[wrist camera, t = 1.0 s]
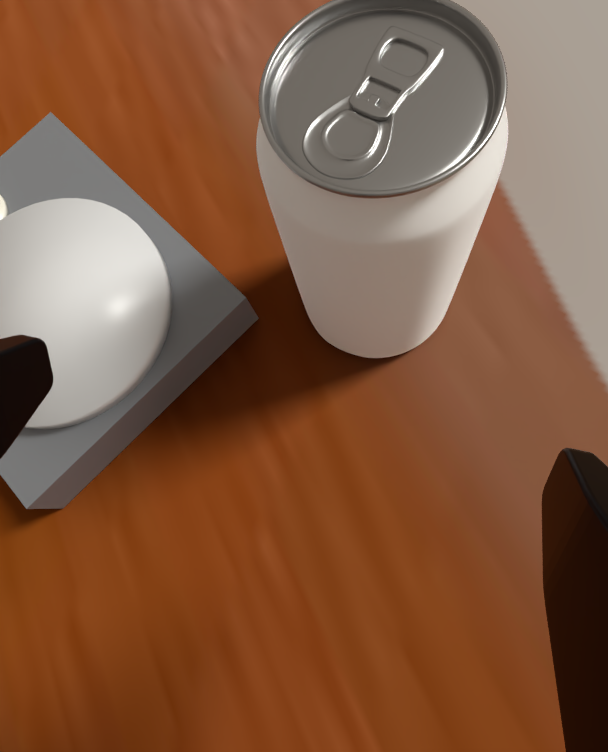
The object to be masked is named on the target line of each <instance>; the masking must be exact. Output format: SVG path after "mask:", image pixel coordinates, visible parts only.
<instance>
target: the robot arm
mask: <svg viewBox="0 0 608 752" xmlns="http://www.w3.org/2000/svg"><path fill="white" fill-rule="evenodd" d="M52 385H53V372H52V368H51V363H50V359H49V354H48V349H47V346H46V344H45V342H44V341H43V340H42V339H40V338H36V337H31V336H27V335H15V336H11V337H6V338H2V339H0V459H1V458H2V457H3V456H4V454H5V453H6V452H7V450H8V449H9V448H10V446H11V445H12V444H13V442H14V441H15V440H16V438H17V437H18V435H19V434H20V432H21V431H22V430H23V428H24V427H25V425H26V424H27V423H28V421H29V420H30V418H31V417H32V415H33V414H34V413H35V411H36V410H37V408H38V407H39V406H40V404H41V403H42V401H43V400H44V398H45V397H46V396H47V394H48V393H49V391H50V390H51V388H52ZM542 547H543V589H544V598H545V607H546V614H547V621H548V628H549V635H550V642H551V649H552V656H553V663H554V670H555V678H556V685H557V692H558V699H559V706H560V713H561V720H562V727H563V734H564V741H565V748H566V752H608V467H607V466H606V465H605V464H604V463H603V462H602V461H601V460H600V459H599V458H598V457H597V456H595V455H594V454H593V453H590V452H586V451H581V450H576V449H571V448H565V449H563V450H562V451H561V452H560V453H559V455H558V457H557V459H556V461H555V464H554V466H553V468H552V470H551V473H550V475H549V477H548V480H547V482H546V484H545V487H544V490H543V495H542Z"/></svg>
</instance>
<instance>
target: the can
mask: <svg viewBox="0 0 608 752" xmlns="http://www.w3.org/2000/svg"><path fill="white" fill-rule="evenodd" d="M506 96H507V72H506V67H505V62H504V59H503V56H502V53H501V51H500V48H499V46H498V44H497V42H496V41H495V39H494V37H493V36H492V34H491V33H490V32H489V30H488V29H487V28H486V27H485V25H483V23H482V22H481V21H480V20H479V19H478V18H476V17H475V16H474V15H473V14H472V13H470V12H469V11H468V10H466V9H465V8H463V7H462V6H460V5H458V4H457V3H455V2H453V1H450V0H333V1H330V2H328V3H326V4H324V5H322V6H320V7H319V8H317V9H315V10H314V11H312V12H311V13H309V14H308V15H306V16H305V17H304V18H302V19H301V20H300V21H299V22H297V23H296V24H295V25H294V26H293V27H292V28H291V29H290V30H289V31H288V32H287V33H286V34H285V35H284V37H283V38H282V39H281V40H280V42H279V43H278V44H277V46H276V47H275V49H274V50H273V52H272V54H271V56H270V58H269V59H268V62H267V64H266V66H265V69H264V72H263V75H262V79H261V83H260V89H259V113H260V120H259V124H258V131H257V141H256V149H257V159H258V165H259V171H260V175H261V178H262V182H263V185H264V189H265V192H266V195H267V198H268V201H269V204H270V207H271V211H272V214H273V217H274V219H275V222H276V225H277V228H278V231H279V234H280V237H281V240H282V243H283V246H284V249H285V252H286V255H287V258H288V261H289V264H290V267H291V270H292V272H293V275H294V278H295V281H296V284H297V287H298V290H299V292H300V295H301V298H302V301H303V304H304V306H305V309H306V312H307V314H308V316H309V318H310V320H311V322H312V324H313V326H314V327H315V329H316V330H317V332H318V333H319V334H320V335H321V336H322V337H323V338H324V339H325V340H326V341H327V342H328V343H330V344H331V345H333V346H335V347H336V348H338V349H340V350H343V351H345V352H347V353H350V354H353V355H357V356H361V357H366V358H385V357H391V356H396V355H399V354H402V353H405V352H407V351H409V350H411V349H413V348H415V347H417V346H418V345H420V344H421V343H422V342H424V341H425V340H426V339H427V338H428V337H429V336H430V335H431V334H432V333H433V332H434V331H435V330H436V329H437V327H438V326H439V324H440V323H441V321H442V319H443V318H444V316H445V313H446V311H447V309H448V307H449V304H450V302H451V300H452V297H453V295H454V292H455V290H456V287H457V285H458V282H459V280H460V277H461V274H462V272H463V269H464V267H465V264H466V262H467V259H468V257H469V254H470V252H471V249H472V246H473V244H474V241H475V239H476V236H477V234H478V231H479V228H480V226H481V223H482V221H483V218H484V215H485V213H486V210H487V208H488V205H489V202H490V200H491V197H492V194H493V192H494V189H495V186H496V184H497V181H498V178H499V175H500V172H501V169H502V166H503V162H504V158H505V153H506V148H507V142H508V120H507V113H506V108H505V102H506Z"/></svg>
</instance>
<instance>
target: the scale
mask: <svg viewBox="0 0 608 752" xmlns="http://www.w3.org/2000/svg"><path fill="white" fill-rule="evenodd" d="M258 319H259V318H258V316H257V315H256V313H255V311H254V310H253V308H252V306H251V305H250V303H249V301H248V300H247V298H246V297H245V296H244V295H243V294H242V293H241V292H240V291H239V290H238V289H237V288H236V287H234V286H233V285H232V284H231V283H230V282H229V281H228V280H227V279H226V278H225V277H224V276H223V275H222V274H221V273H220V272H219V271H218V270H217V269H216V268H214V267H213V266H212V265H211V264H210V263H209V262H208V261H207V260H206V259H205V258H204V257H203V256H202V255H201V254H200V253H199V252H198V251H197V250H195V249H194V248H193V247H192V246H191V245H190V244H189V243H188V242H187V241H186V240H185V239H184V238H183V237H182V236H181V235H180V234H179V233H178V232H177V231H175V230H174V229H173V228H172V227H171V226H170V225H169V224H168V223H167V222H166V221H165V220H164V219H163V218H162V217H161V216H160V215H159V214H158V213H156V212H155V211H154V210H153V209H152V208H151V207H150V206H149V205H148V204H147V203H146V202H145V201H144V200H143V199H142V198H141V197H140V196H139V195H138V194H136V193H135V192H134V191H133V190H132V189H131V188H130V187H129V186H128V185H127V184H126V183H125V182H124V181H123V180H122V179H121V178H120V177H119V176H117V175H116V174H115V173H114V172H113V171H112V170H111V169H110V168H109V167H108V166H107V165H106V164H105V163H104V162H103V161H102V160H101V159H100V158H99V157H97V156H96V155H95V154H94V153H93V152H92V151H91V150H90V149H89V148H88V147H87V146H86V145H85V144H84V143H83V142H82V141H81V140H80V139H78V138H77V137H76V136H75V135H74V134H73V133H72V132H71V131H70V130H69V129H68V128H67V127H66V126H65V125H64V124H63V123H62V122H61V121H60V120H58V119H57V118H56V117H55V116H54V115H53V114H52V113H51V112H50V113H49V114H48V115H47V116H46V117H45V118H44V119H43V120H41V121H40V122H39V123H38V124H37V125H36V126H35V127H33V128H32V129H31V130H30V131H29V132H28V133H27V134H26V135H24V136H23V137H22V138H21V139H20V140H19V141H18V142H17V143H15V144H14V145H13V146H12V147H11V148H10V149H9V150H8V151H6V152H5V153H4V154H3V155H2V156H1V157H0V339H2V338H6V337H11V336H15V335H27V336H31V337H36V338H40V339H42V340H43V341H44V342H45V344H46V346H47V349H48V354H49V359H50V363H51V368H52V372H53V385H52V388H51V390H50V391H49V393H48V394H47V396H46V397H45V398H44V400H43V401H42V403H41V404H40V406H39V407H38V408H37V410H36V411H35V413H34V414H33V415H32V417H31V418H30V420H29V421H28V423H27V424H26V425H25V427H24V428H23V430H22V431H21V432H20V434H19V435H18V437H17V438H16V440H15V441H14V442H13V444H12V445H11V446H10V448H9V449H8V450H7V452H6V453H5V454H4V456H3V457H2V458H1V459H0V475H1V476H2V477H3V479H4V480H5V481H6V483H7V484H8V485H9V487H10V488H11V489H12V491H13V492H14V493H15V495H16V496H17V497H18V499H19V500H20V501H21V502H22V504H23V505H24V506H25V508H26V509H62V508H64V507H65V506H66V505H67V504H68V503H69V502H70V501H71V500H72V499H73V498H74V497H75V496H76V495H77V494H78V493H79V492H80V491H81V490H83V489H84V488H85V487H86V486H87V485H88V484H89V483H90V482H91V481H92V480H93V479H94V478H95V477H96V476H97V475H98V474H99V473H100V472H101V471H102V470H103V469H104V468H105V467H106V466H107V465H108V464H109V463H110V462H111V461H112V460H113V459H114V458H115V457H117V456H118V455H119V454H120V453H121V452H122V451H123V450H124V449H125V448H126V447H127V446H128V445H129V444H130V443H131V442H132V441H133V440H134V439H135V438H136V437H137V436H138V435H139V434H140V433H141V432H142V431H143V430H144V429H145V428H146V427H147V426H148V425H149V424H151V423H152V422H153V421H154V420H155V419H156V418H157V417H158V416H159V415H160V414H161V413H162V412H163V411H164V410H165V409H166V408H167V407H168V406H169V405H170V404H171V403H172V402H173V401H174V400H175V399H176V398H177V397H178V396H179V395H180V394H181V393H182V392H183V391H185V390H186V389H187V388H188V387H189V386H190V385H191V384H192V383H193V382H194V381H195V380H196V379H197V378H198V377H199V376H200V375H201V374H202V373H203V372H204V371H205V370H206V369H207V368H208V367H209V366H210V365H211V364H212V363H213V362H214V361H215V360H216V359H217V358H218V357H220V356H221V355H222V354H223V353H224V352H225V351H226V350H227V349H228V348H229V347H230V346H231V345H232V344H233V343H234V342H235V341H236V340H237V339H238V338H239V337H240V336H241V335H242V334H243V333H244V332H245V331H246V330H247V329H248V328H249V327H250V326H251V325H252V324H254V323H255V322H256V321H257V320H258Z"/></svg>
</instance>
